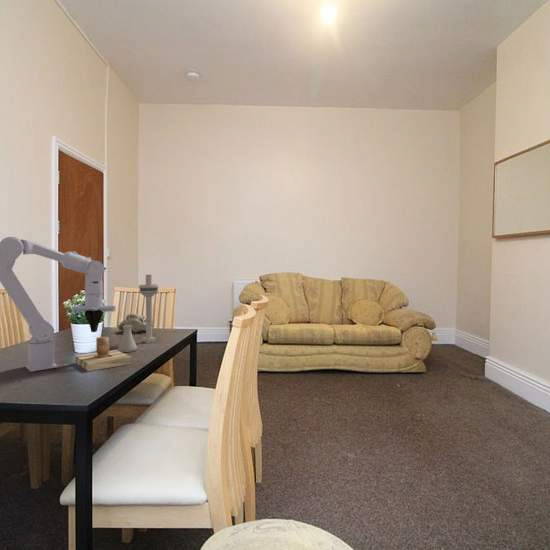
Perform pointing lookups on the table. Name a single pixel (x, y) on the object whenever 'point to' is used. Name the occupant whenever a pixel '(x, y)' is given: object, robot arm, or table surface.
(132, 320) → the mineral
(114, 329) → the table surface
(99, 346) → the oak peg
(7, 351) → the table surface
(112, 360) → the birch board
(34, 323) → the robot arm
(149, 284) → the model tower
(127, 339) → the flask
